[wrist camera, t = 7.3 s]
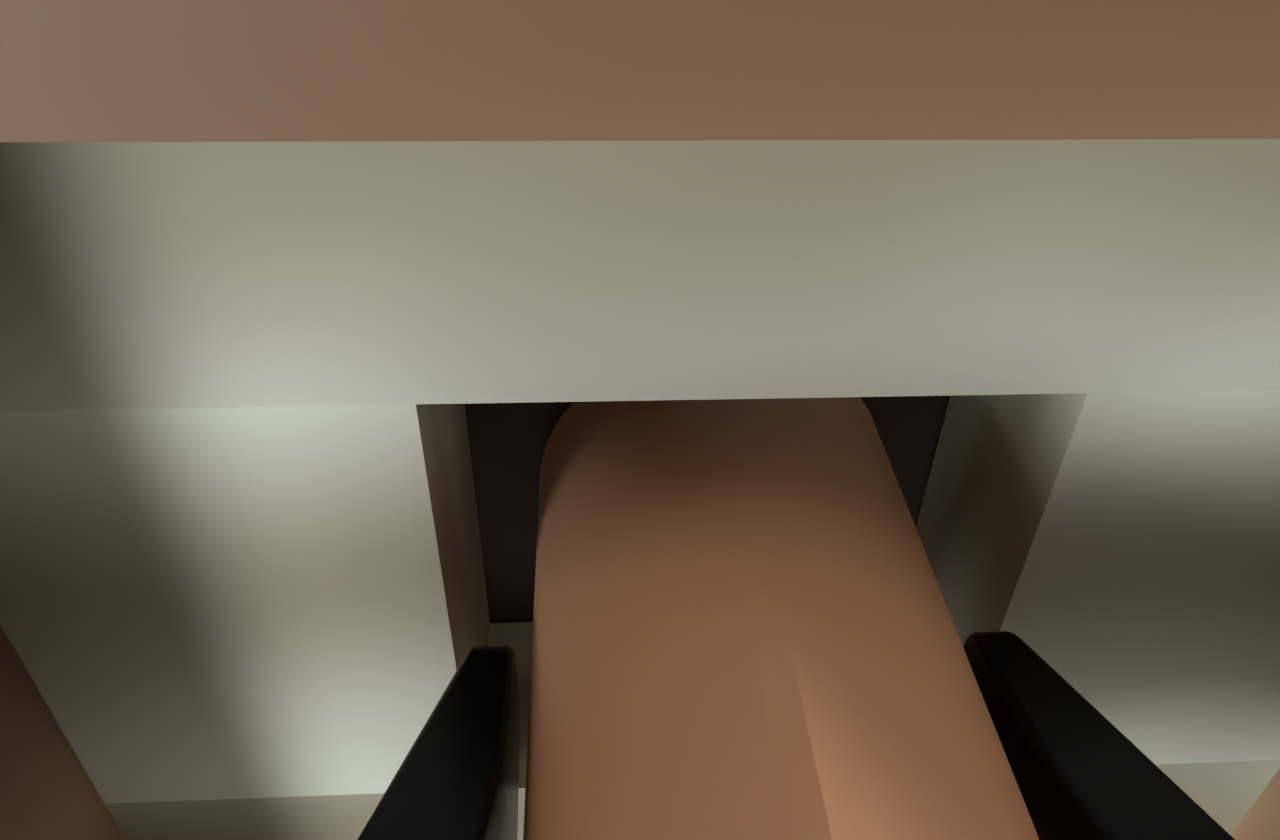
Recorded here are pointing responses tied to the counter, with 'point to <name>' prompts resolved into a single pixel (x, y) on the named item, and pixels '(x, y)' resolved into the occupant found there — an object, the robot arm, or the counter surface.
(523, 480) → the counter surface
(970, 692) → the peg
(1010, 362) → the bore box
